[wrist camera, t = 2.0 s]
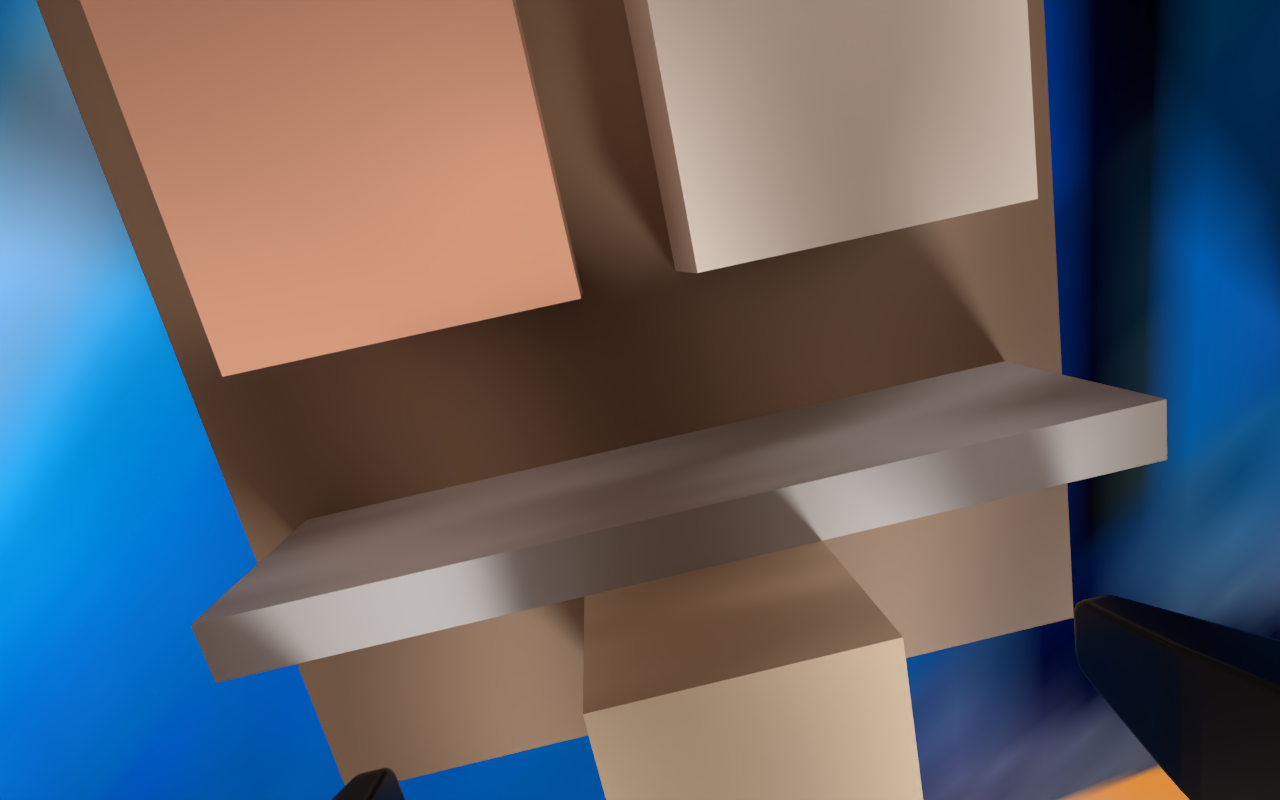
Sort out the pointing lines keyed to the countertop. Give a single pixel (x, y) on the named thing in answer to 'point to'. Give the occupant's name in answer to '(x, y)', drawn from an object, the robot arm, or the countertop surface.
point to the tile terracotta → (341, 166)
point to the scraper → (700, 574)
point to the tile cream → (830, 118)
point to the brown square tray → (613, 395)
